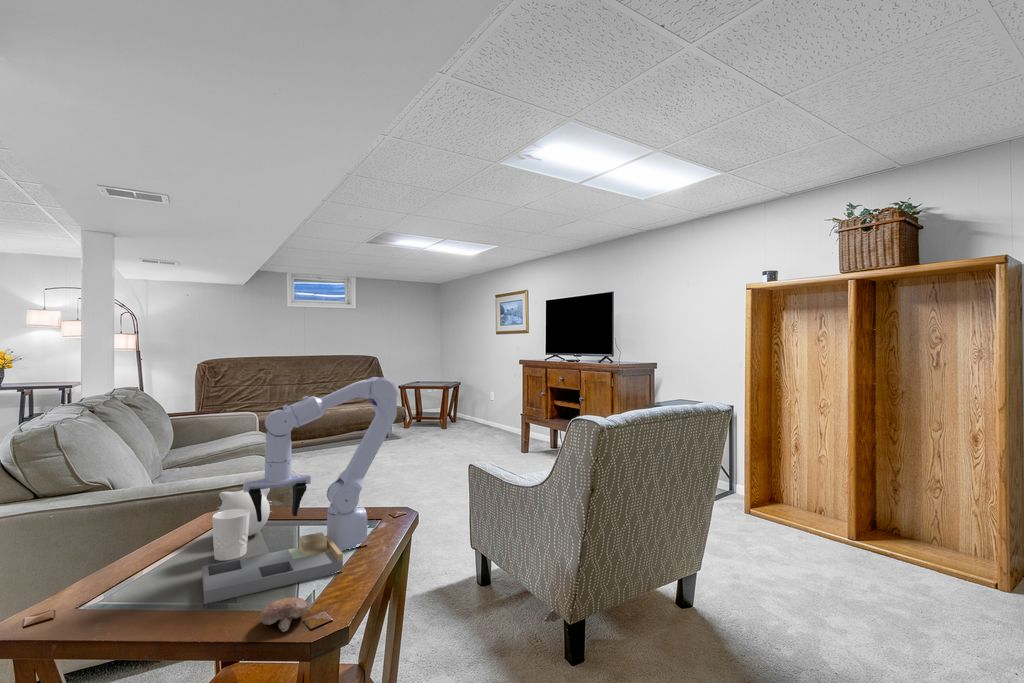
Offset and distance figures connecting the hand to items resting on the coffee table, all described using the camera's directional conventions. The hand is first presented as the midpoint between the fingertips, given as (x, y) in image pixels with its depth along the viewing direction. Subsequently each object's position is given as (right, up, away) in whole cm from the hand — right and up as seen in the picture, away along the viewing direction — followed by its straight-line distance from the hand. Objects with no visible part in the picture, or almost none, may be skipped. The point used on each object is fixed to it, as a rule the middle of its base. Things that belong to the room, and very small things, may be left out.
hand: (277, 517), depth 116 cm
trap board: (+4, -9, -10) cm, 14 cm away
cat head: (-16, -10, +14) cm, 24 cm away
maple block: (+10, -7, -2) cm, 12 cm away
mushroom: (+16, -8, -30) cm, 35 cm away
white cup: (-12, -10, +1) cm, 15 cm away
